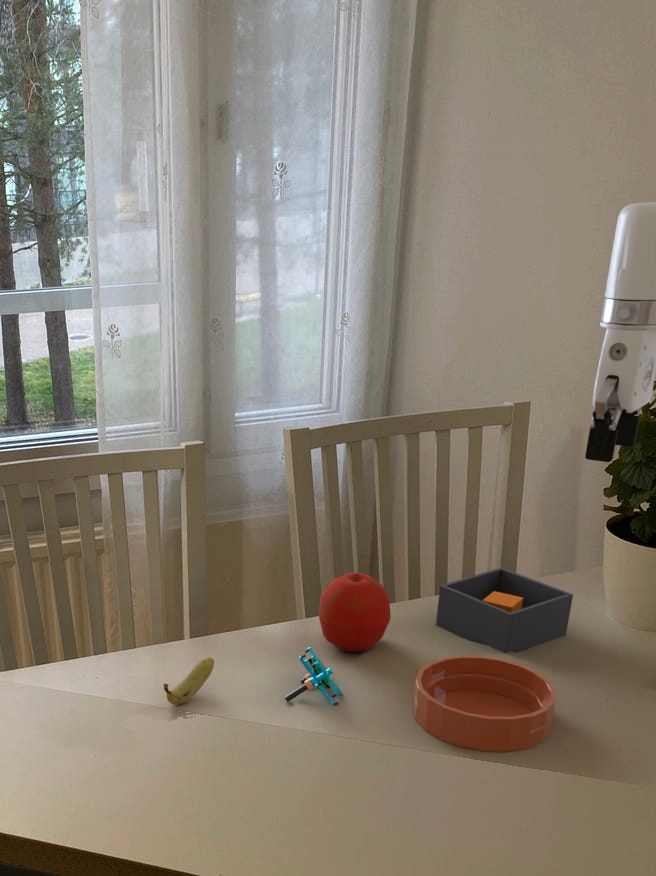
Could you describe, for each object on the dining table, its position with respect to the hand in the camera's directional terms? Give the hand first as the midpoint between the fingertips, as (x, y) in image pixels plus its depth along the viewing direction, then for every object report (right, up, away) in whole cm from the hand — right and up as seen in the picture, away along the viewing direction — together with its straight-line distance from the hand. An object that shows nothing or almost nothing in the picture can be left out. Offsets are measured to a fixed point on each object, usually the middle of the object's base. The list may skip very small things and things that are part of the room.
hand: (609, 452), depth 119 cm
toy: (-8, -22, +18) cm, 30 cm away
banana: (-55, -32, +2) cm, 64 cm away
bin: (-8, -23, +18) cm, 30 cm away
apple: (-31, -25, +14) cm, 43 cm away
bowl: (-19, -34, -6) cm, 40 cm away
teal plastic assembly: (-39, -32, +2) cm, 50 cm away
